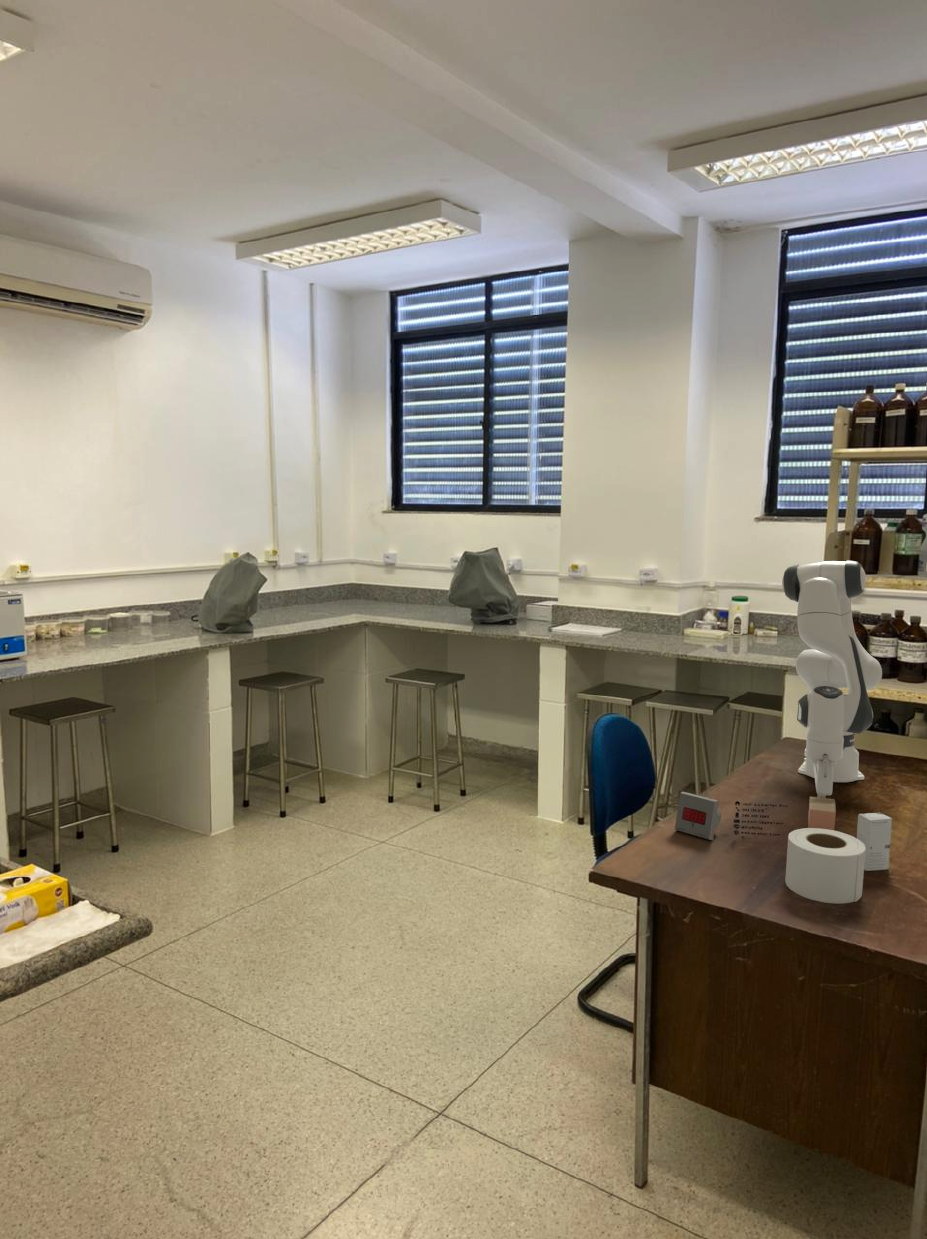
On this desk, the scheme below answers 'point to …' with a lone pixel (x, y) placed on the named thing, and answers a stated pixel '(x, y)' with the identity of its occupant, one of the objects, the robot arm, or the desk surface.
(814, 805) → the birch cube
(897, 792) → the desk surface
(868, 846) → the skincare box
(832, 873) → the roll of tape
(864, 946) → the desk surface
